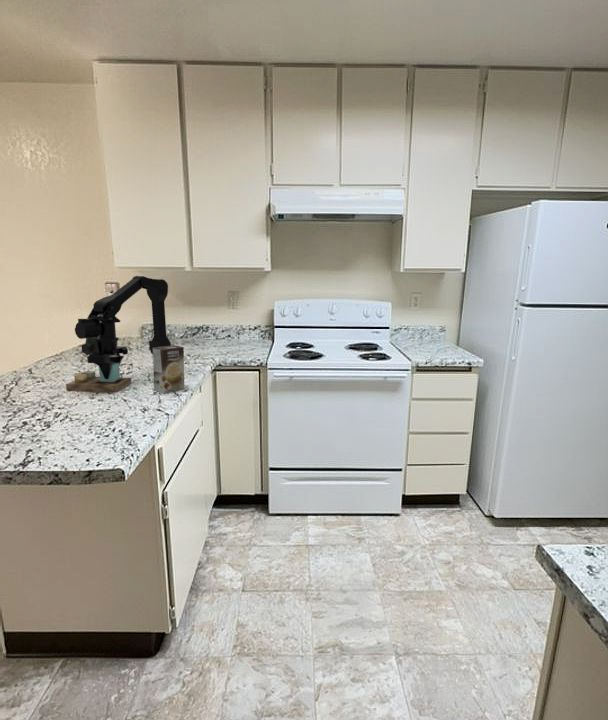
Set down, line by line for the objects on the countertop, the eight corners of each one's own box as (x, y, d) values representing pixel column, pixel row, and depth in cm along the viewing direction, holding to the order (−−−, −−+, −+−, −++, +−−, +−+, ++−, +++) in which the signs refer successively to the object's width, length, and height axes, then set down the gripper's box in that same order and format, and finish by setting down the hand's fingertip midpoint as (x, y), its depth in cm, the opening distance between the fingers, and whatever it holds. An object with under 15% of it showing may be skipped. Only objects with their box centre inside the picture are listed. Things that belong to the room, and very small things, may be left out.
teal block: (120, 378, 152) (118, 362, 151) (113, 381, 148) (112, 365, 146) (106, 378, 152) (105, 362, 151) (100, 381, 148) (98, 365, 146)
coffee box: (163, 394, 145) (161, 349, 141) (153, 390, 149) (151, 347, 145) (185, 389, 152) (184, 346, 148) (175, 385, 156) (174, 344, 152)
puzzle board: (131, 383, 156) (130, 371, 155) (116, 392, 145) (115, 379, 144) (85, 382, 157) (83, 369, 156) (66, 390, 145) (65, 377, 144)
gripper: (98, 331, 156) (101, 370, 159) (70, 338, 138) (74, 383, 141) (127, 332, 156) (129, 371, 159) (102, 339, 137) (105, 384, 141)
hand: (110, 377), depth 150 cm, fingers closed on teal block, 5 cm apart
